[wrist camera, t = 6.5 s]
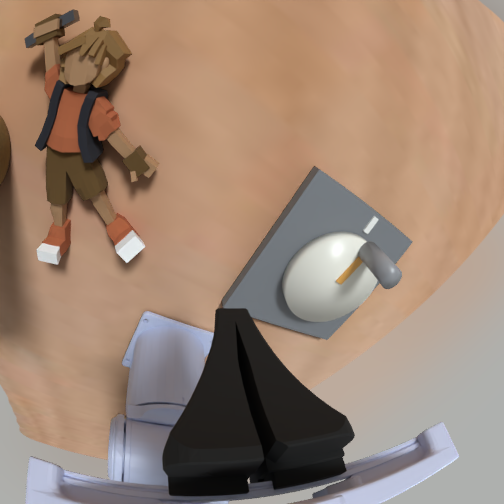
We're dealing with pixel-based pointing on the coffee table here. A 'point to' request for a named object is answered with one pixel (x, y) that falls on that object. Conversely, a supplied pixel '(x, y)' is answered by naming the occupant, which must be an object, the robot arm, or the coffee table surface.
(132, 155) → the character figurine
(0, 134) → the plant pot
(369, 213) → the stand plate
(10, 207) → the coffee table surface
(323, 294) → the dial
